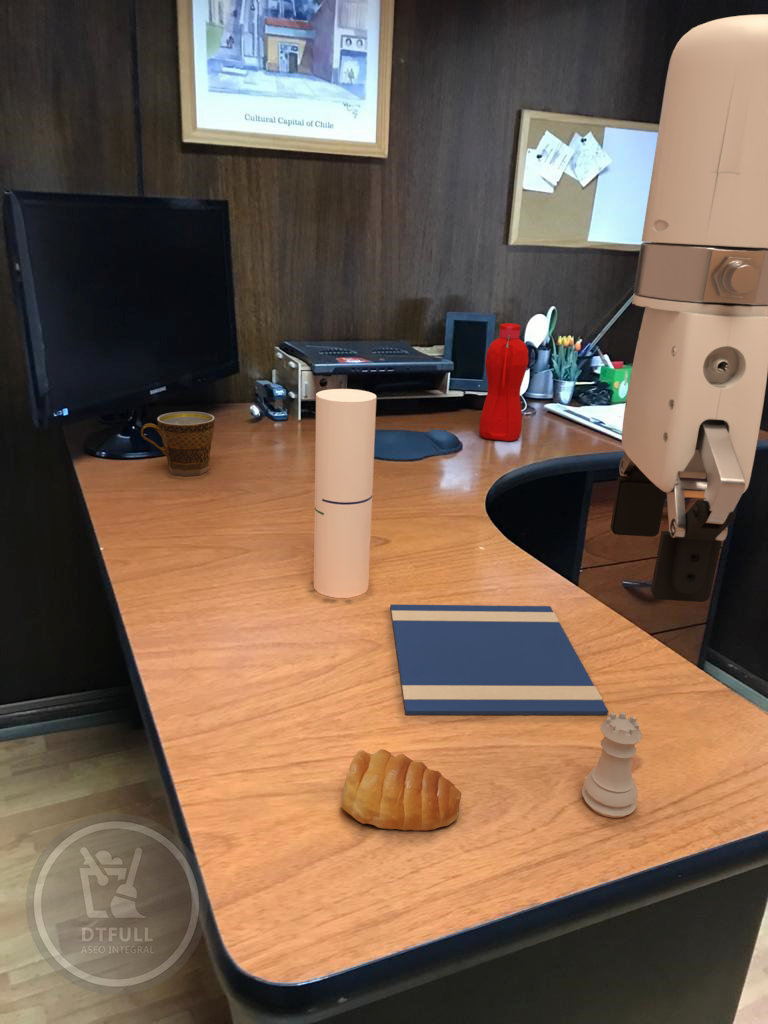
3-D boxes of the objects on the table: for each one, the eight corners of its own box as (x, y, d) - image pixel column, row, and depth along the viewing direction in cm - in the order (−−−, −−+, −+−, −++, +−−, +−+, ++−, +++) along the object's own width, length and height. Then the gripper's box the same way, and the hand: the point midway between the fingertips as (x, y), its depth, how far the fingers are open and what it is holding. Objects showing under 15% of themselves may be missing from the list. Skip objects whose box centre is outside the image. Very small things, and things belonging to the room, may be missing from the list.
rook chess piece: (640, 795, 65) (656, 715, 62) (630, 828, 62) (646, 745, 59) (588, 776, 67) (601, 698, 64) (574, 808, 64) (588, 726, 61)
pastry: (463, 789, 65) (467, 752, 64) (452, 849, 59) (456, 809, 57) (355, 769, 67) (357, 733, 65) (334, 825, 61) (335, 786, 59)
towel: (549, 609, 96) (550, 605, 96) (607, 715, 76) (608, 710, 76) (390, 607, 95) (390, 603, 95) (405, 715, 75) (405, 709, 74)
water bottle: (475, 441, 170) (486, 325, 161) (481, 429, 180) (490, 319, 171) (518, 445, 168) (530, 328, 159) (521, 433, 178) (533, 322, 169)
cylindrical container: (349, 603, 96) (356, 404, 87) (302, 588, 99) (304, 395, 90) (378, 582, 102) (387, 394, 93) (333, 569, 105) (337, 386, 96)
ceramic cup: (209, 461, 148) (207, 409, 144) (222, 476, 140) (220, 422, 136) (139, 467, 143) (135, 414, 139) (148, 483, 134) (144, 427, 131)
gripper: (858, 299, 35) (773, 635, 41) (717, 275, 51) (671, 518, 57) (690, 291, 35) (630, 627, 41) (602, 269, 51) (569, 512, 57)
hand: (654, 563), depth 49 cm, fingers open, 9 cm apart
